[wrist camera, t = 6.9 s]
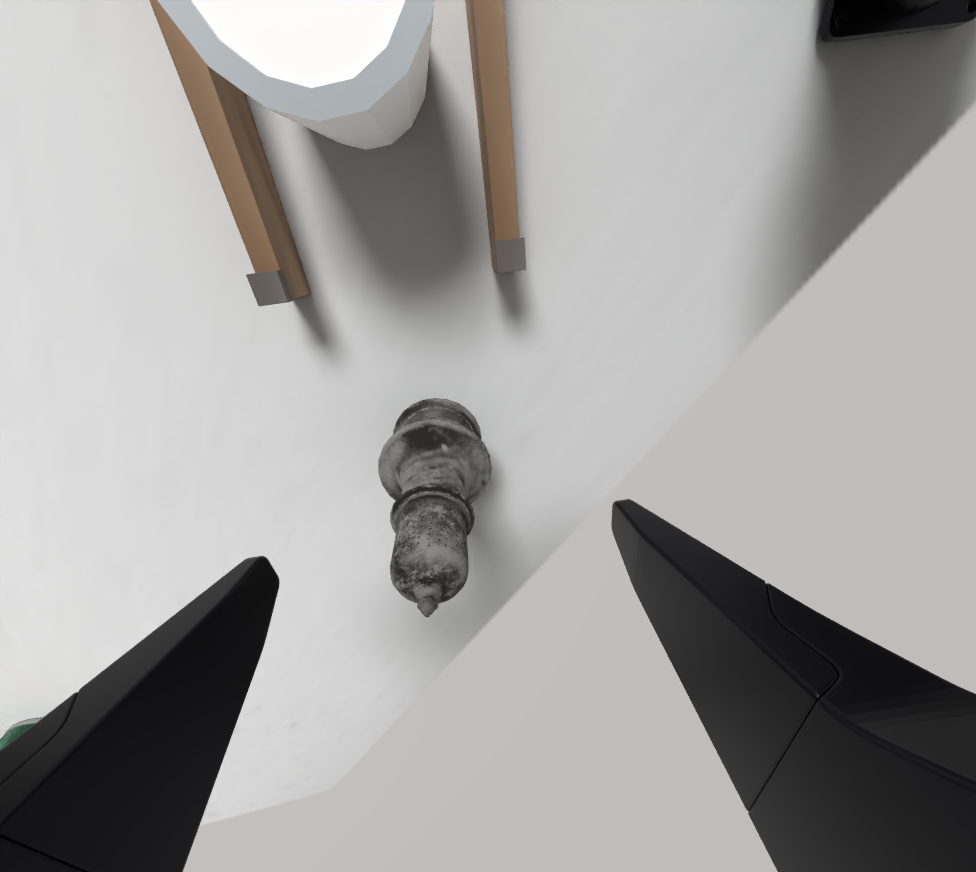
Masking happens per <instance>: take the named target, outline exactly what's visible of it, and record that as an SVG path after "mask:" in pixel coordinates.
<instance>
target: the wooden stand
mask: <svg viewBox="0 0 976 872" xmlns="http://www.w3.org/2000/svg"><path fill="white" fill-rule="evenodd" d="M150 3H151V6H152V8H153V11H154V13H155V16H156V18H157V21H158V24H159V26H160V29H161V31H162V34H163V36H164V39H165V42H166V44H167V47H168V49H169V52H170V54H171V57H172V60H173V62H174V65H175V67H176V70H177V72H178V75H179V78H180V80H181V83H182V85H183V88H184V90H185V93H186V96H187V98H188V101H189V103H190V106H191V108H192V111H193V113H194V116H195V119H196V121H197V124H198V126H199V129H200V131H201V134H202V137H203V139H204V142H205V144H206V147H207V149H208V152H209V155H210V157H211V160H212V162H213V165H214V167H215V170H216V173H217V175H218V178H219V180H220V183H221V185H222V188H223V191H224V193H225V196H226V198H227V201H228V203H229V206H230V208H231V211H232V214H233V216H234V219H235V221H236V224H237V226H238V229H239V232H240V234H241V237H242V239H243V242H244V244H245V247H246V250H247V252H248V255H249V257H250V260H251V262H252V265H253V268H254V270H255V273H254V274H248V275H246V276H247V278H248V281H249V283H250V286H251V288H252V291H253V293H254V296H255V298H256V301H257V303H258V306H264V305H272V304H279V303H286V302H290V301H293V300H294V299H297V298H300V297H302V296H305V295H308V294H310V290H309V287H308V284H307V281H306V278H305V275H304V272H303V269H302V266H301V263H300V259H299V256H298V253H297V250H296V247H295V244H294V241H293V238H292V235H291V232H290V229H289V226H288V223H287V220H286V217H285V214H284V211H283V208H282V205H281V202H280V199H279V196H278V193H277V190H276V187H275V184H274V181H273V178H272V175H271V172H270V169H269V166H268V163H267V160H266V157H265V154H264V151H263V148H262V145H261V142H260V139H259V136H258V132H257V129H256V126H255V123H254V120H253V117H252V114H251V111H250V108H249V105H248V102H247V99H246V96H245V93H244V92H243V91H242V90H240V89H239V88H238V87H236V86H235V85H233V84H232V83H231V82H229V81H228V80H227V79H225V78H224V77H222V76H221V75H220V74H218V73H217V72H216V71H214V70H213V69H211V68H210V67H209V66H208V65H207V64H206V63H205V61H204V60H203V59H202V58H201V56H200V55H199V54H198V52H197V51H196V50H195V49H194V47H193V46H192V45H191V43H190V42H189V41H188V39H187V38H186V37H185V36H184V34H183V33H182V32H181V30H180V29H179V28H178V26H177V25H176V24H175V23H174V21H173V20H172V19H171V17H170V16H169V15H168V14H167V12H166V11H165V10H164V8H163V7H162V6H161V4H160V3H159V2H158V1H157V0H150ZM466 10H467V19H468V29H469V39H470V49H471V59H472V69H473V79H474V89H475V99H476V109H477V118H478V128H479V138H480V148H481V158H482V168H483V178H484V188H485V198H486V207H487V217H488V227H489V237H490V247H491V257H492V267H493V269H494V270H496V273H498V274H499V273H506V272H513V271H521V270H526V258H525V241H524V238H519V226H518V210H517V195H516V180H515V165H514V150H513V135H512V120H511V105H510V90H509V75H508V60H507V45H506V30H505V15H504V0H466Z"/></svg>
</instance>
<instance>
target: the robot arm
mask: <svg viewBox="0 0 976 872" xmlns="http://www.w3.org/2000/svg"><path fill="white" fill-rule="evenodd" d="M967 6H968V9H967ZM837 17H838V19H839V25H838V27H837V28H836V26H835V21H836V18H837ZM975 17H976V0H827V1H826V5H825V9H824V14H823V18H822V22H821V27H820V36H821V39H822V40H823V41H824V42H836V41H844V40H852V39H860V38H868V37H877V36H885V35H893V34H901V33H909V32H918V31H926V30H934V29H942V28H950V27H956V26H959V25H962V24H964V23H966V22H969V21H971V20H973V19H974V18H975ZM612 531H613V535H614V537H615V540H616V543H617V546H618V548H619V550H620V553H621V556H622V558H623V561H624V564H625V566H626V569H627V572H628V575H629V577H630V580H631V582H632V585H633V587H634V590H635V592H636V594H637V596H638V598H639V600H640V602H641V604H642V606H643V608H644V609H645V612H646V614H647V615H648V618H649V619H650V622H651V623H652V625H653V627H654V629H655V631H656V633H657V635H658V637H659V639H660V641H661V643H662V645H663V647H664V649H665V651H666V653H667V655H668V657H669V659H670V661H671V662H672V665H673V667H674V669H675V671H676V672H677V674H678V676H679V678H680V680H681V682H682V684H683V686H684V688H685V690H686V692H687V694H688V696H689V698H690V700H691V702H692V704H693V706H694V708H695V710H696V712H697V714H698V715H699V718H700V720H701V722H702V723H703V725H704V727H705V729H706V731H707V733H708V735H709V737H710V739H711V741H712V743H713V745H714V747H715V749H716V751H717V753H718V755H719V757H720V759H721V761H722V763H723V765H724V766H725V769H726V770H727V773H728V774H729V776H730V778H731V780H732V782H733V784H734V786H735V788H736V790H737V792H738V794H739V796H740V798H741V800H742V802H743V804H744V806H745V808H746V809H747V810H748V811H749V816H750V818H751V820H752V822H753V824H754V826H755V828H756V830H757V832H758V834H759V836H760V838H761V840H762V841H763V844H764V845H765V847H766V850H767V852H768V853H769V855H770V857H771V859H772V861H773V863H774V865H775V867H776V869H777V871H778V872H976V694H974V693H972V692H970V691H967V690H965V689H963V688H961V687H959V686H957V685H955V684H952V683H950V682H948V681H946V680H944V679H942V678H940V677H938V676H937V675H934V674H933V673H931V672H929V671H927V670H925V669H923V668H921V667H920V666H918V665H916V664H914V663H912V662H910V661H908V660H906V659H904V658H902V657H900V656H899V655H897V654H895V653H893V652H891V651H889V650H887V649H885V648H883V647H881V646H880V645H877V644H876V643H874V642H872V641H870V640H868V639H866V638H864V637H862V636H860V635H859V634H857V633H855V632H853V631H851V630H849V629H847V628H846V627H843V626H842V625H840V624H838V623H836V622H835V621H833V620H831V619H829V618H827V617H825V616H824V615H822V614H820V613H818V612H816V611H814V610H813V609H811V608H809V607H808V606H806V605H804V604H802V603H801V602H799V601H797V600H795V599H794V598H792V597H791V596H789V595H787V594H785V593H784V592H782V591H780V590H779V589H777V588H776V587H774V586H772V585H771V584H769V583H767V584H766V583H765V581H764V580H762V579H761V578H759V577H757V576H756V575H754V574H752V573H751V572H749V571H747V570H746V569H744V568H742V567H741V566H739V565H738V564H736V563H734V562H733V561H731V560H729V559H728V558H726V557H724V556H723V555H721V554H719V553H718V552H716V551H714V550H713V549H711V548H710V547H708V546H706V545H705V544H703V543H701V542H700V541H698V540H696V539H695V538H693V537H691V536H690V535H688V534H687V533H685V532H683V531H682V530H680V529H678V528H677V527H675V526H673V525H671V524H670V523H668V522H667V521H665V520H664V519H662V518H660V517H659V516H657V515H655V514H653V513H652V512H650V511H649V510H647V509H645V508H644V507H642V506H640V505H638V504H637V503H636V502H634V501H632V500H630V499H625V500H619V501H615V502H614V503H613V506H612ZM278 589H279V577H278V575H277V574H276V572H275V570H274V569H273V567H272V565H271V564H270V562H269V560H268V559H267V558H266V557H264V556H258V557H251V558H247V559H245V560H244V561H243V562H241V563H240V564H239V565H237V566H236V567H235V568H234V569H232V570H231V571H230V572H228V573H227V574H226V575H225V576H223V577H222V578H221V579H220V580H218V581H217V582H216V583H214V584H213V585H212V586H211V587H209V588H208V589H207V590H206V591H204V592H203V593H202V594H200V595H199V596H198V597H197V598H195V599H194V600H193V601H192V602H190V603H189V604H188V605H186V606H185V607H184V608H183V609H181V610H180V611H179V612H177V613H176V614H175V615H174V616H172V617H171V618H170V619H169V620H167V621H166V622H165V623H163V624H162V625H161V626H160V627H158V628H157V629H156V630H155V631H153V632H152V633H151V634H149V635H148V636H147V637H146V638H144V639H143V640H142V641H141V642H139V643H138V644H137V645H135V646H134V647H133V648H132V649H130V650H129V651H128V652H126V653H125V654H124V655H123V656H121V657H120V658H119V659H118V660H116V661H115V662H114V663H112V664H111V665H110V666H109V667H107V668H106V669H105V670H104V671H102V672H101V673H100V674H98V675H97V676H96V677H95V678H93V679H92V680H91V681H90V682H88V683H87V684H86V685H84V686H83V687H82V688H81V689H80V690H79V692H77V693H74V694H73V695H71V696H70V697H69V698H68V699H66V700H65V701H64V702H63V703H61V704H60V705H59V706H58V707H56V708H55V709H54V710H52V711H51V712H50V713H49V714H47V715H46V716H45V717H43V718H42V719H41V720H39V721H38V722H37V723H36V724H34V725H33V726H32V727H30V728H29V729H28V730H26V731H25V732H24V733H23V734H21V735H20V736H19V737H17V738H16V739H15V740H13V741H12V742H11V743H9V744H8V745H7V746H5V747H4V748H3V749H1V750H0V872H183V869H184V867H185V864H186V861H187V858H188V855H189V853H190V850H191V847H192V844H193V841H194V839H195V836H196V833H197V830H198V828H199V825H200V822H201V819H202V817H203V814H204V811H205V808H206V806H207V803H208V800H209V797H210V794H211V792H212V789H213V786H214V783H215V781H216V778H217V775H218V772H219V770H220V767H221V764H222V761H223V758H224V756H225V753H226V750H227V747H228V745H229V742H230V739H231V736H232V733H233V731H234V728H235V725H236V722H237V720H238V717H239V714H240V711H241V709H242V706H243V703H244V700H245V697H246V695H247V692H248V689H249V686H250V684H251V681H252V678H253V675H254V673H255V670H256V667H257V664H258V661H259V659H260V656H261V653H262V650H263V647H264V643H265V640H266V636H267V632H268V628H269V625H270V621H271V617H272V613H273V609H274V605H275V601H276V597H277V593H278Z"/></svg>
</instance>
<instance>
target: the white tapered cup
mask: <svg viewBox="0 0 976 872" xmlns="http://www.w3.org/2000/svg"><path fill="white" fill-rule="evenodd" d="M157 1H158V2H159V3H160V4H161V6H162V7H163V8H164V10H165V11H166V12H167V14H168V15H169V16H170V17H171V19H172V20H173V21H174V23H175V24H176V25H177V26H178V28H179V29H180V30H181V32H182V33H183V34H184V36H185V37H186V38H187V39H188V41H189V42H190V43H191V45H192V46H193V47H194V49H195V50H196V51H197V52H198V54H199V55H200V56H201V58H202V59H203V60H204V61H205V63H206V64H207V65H208V66H209V67H210V68H211V69H213V70H214V71H216V72H217V73H218V74H220V75H221V76H222V77H224V78H225V79H227V80H228V81H229V82H231V83H232V84H233V85H235V86H236V87H238V88H239V89H240V90H242V91H243V92H244V93H246V94H247V95H248V96H250V97H251V98H253V99H254V100H255V101H257V102H258V103H259V104H261V105H262V106H264V107H265V108H268V109H270V110H272V111H274V112H276V113H278V114H280V115H282V116H284V117H286V118H288V119H290V120H293V121H295V122H297V123H299V124H301V125H303V126H305V127H307V128H309V129H311V130H313V131H315V132H317V133H320V134H322V135H324V136H326V137H328V138H330V139H332V140H334V141H336V142H338V143H341V144H345V145H349V146H353V147H357V148H361V149H365V150H369V149H373V148H378V147H382V146H386V145H391V144H393V143H394V142H395V141H396V140H397V139H398V138H399V137H401V136H402V135H403V134H404V133H405V132H406V131H407V130H409V129H410V128H411V127H412V126H413V123H414V121H415V119H416V117H417V115H418V112H419V110H420V108H421V106H422V104H423V101H424V99H425V94H426V83H427V73H428V62H429V51H430V41H431V30H432V20H433V9H434V0H157Z"/></svg>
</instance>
